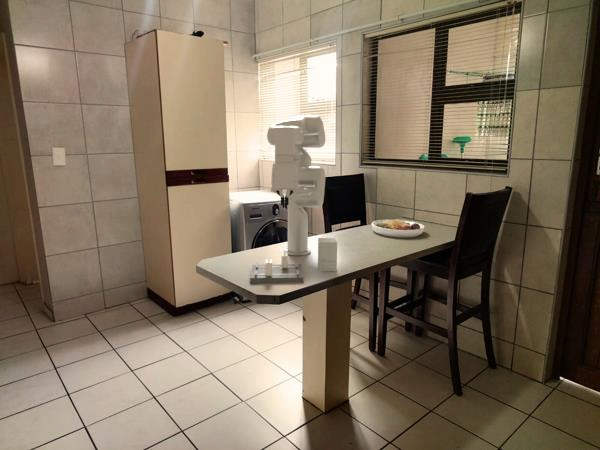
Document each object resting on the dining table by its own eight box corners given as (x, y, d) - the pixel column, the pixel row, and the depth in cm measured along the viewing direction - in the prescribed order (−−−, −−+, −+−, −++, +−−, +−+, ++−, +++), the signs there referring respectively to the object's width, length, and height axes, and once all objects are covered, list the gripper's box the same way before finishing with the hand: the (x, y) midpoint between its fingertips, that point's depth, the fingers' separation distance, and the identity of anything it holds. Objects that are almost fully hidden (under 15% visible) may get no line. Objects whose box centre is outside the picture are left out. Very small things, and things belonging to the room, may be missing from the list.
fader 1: (265, 271, 156) (265, 258, 155) (272, 271, 156) (272, 258, 155) (265, 275, 152) (265, 262, 151) (271, 275, 152) (271, 262, 151)
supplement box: (334, 266, 172) (335, 237, 169) (336, 271, 165) (337, 242, 162) (317, 266, 172) (318, 237, 169) (318, 271, 164) (319, 241, 162)
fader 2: (281, 264, 165) (281, 252, 164) (287, 264, 166) (287, 252, 164) (281, 268, 161) (281, 255, 160) (287, 268, 161) (287, 255, 160)
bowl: (360, 232, 237) (361, 219, 235) (390, 225, 256) (391, 213, 255) (404, 242, 215) (405, 227, 213) (433, 233, 235) (434, 220, 233)
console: (252, 269, 166) (252, 262, 166) (300, 269, 168) (300, 262, 167) (250, 283, 151) (250, 275, 150) (303, 282, 152) (303, 274, 151)
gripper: (303, 159, 157) (303, 205, 161) (265, 158, 156) (265, 205, 160) (305, 160, 149) (304, 208, 153) (264, 159, 148) (265, 208, 152)
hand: (284, 207), depth 156 cm, fingers closed
